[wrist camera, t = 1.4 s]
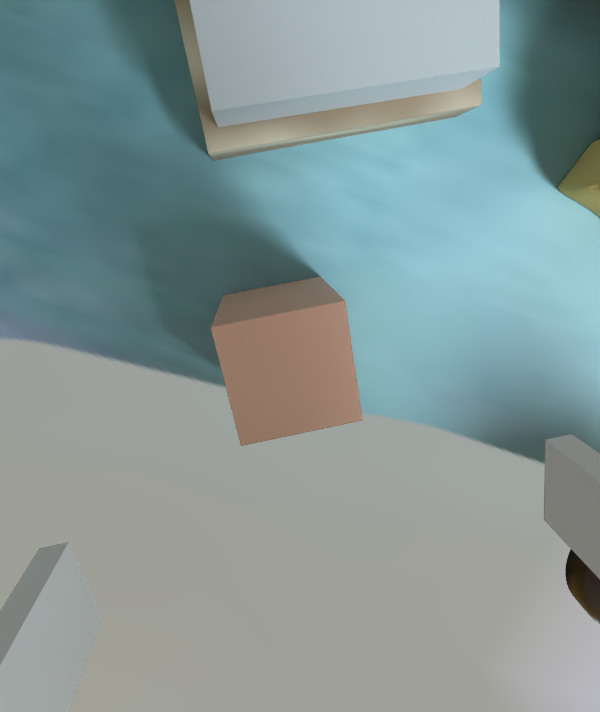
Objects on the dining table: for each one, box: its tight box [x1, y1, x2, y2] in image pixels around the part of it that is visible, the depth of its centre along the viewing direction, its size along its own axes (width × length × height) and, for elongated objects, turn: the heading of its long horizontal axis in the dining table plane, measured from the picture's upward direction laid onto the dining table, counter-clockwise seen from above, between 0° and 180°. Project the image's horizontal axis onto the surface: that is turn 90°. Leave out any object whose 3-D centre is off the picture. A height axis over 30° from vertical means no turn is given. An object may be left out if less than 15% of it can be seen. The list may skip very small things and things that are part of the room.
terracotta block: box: [211, 276, 362, 446], centre depth 27 cm, size 7×7×9 cm
